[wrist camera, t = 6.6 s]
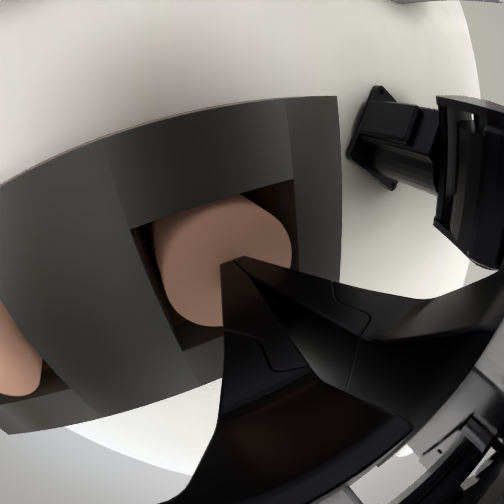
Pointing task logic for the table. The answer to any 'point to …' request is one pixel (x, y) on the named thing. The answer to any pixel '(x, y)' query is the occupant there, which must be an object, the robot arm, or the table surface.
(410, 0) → the coffee mug
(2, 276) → the block
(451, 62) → the table surface
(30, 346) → the peg
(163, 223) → the peg
